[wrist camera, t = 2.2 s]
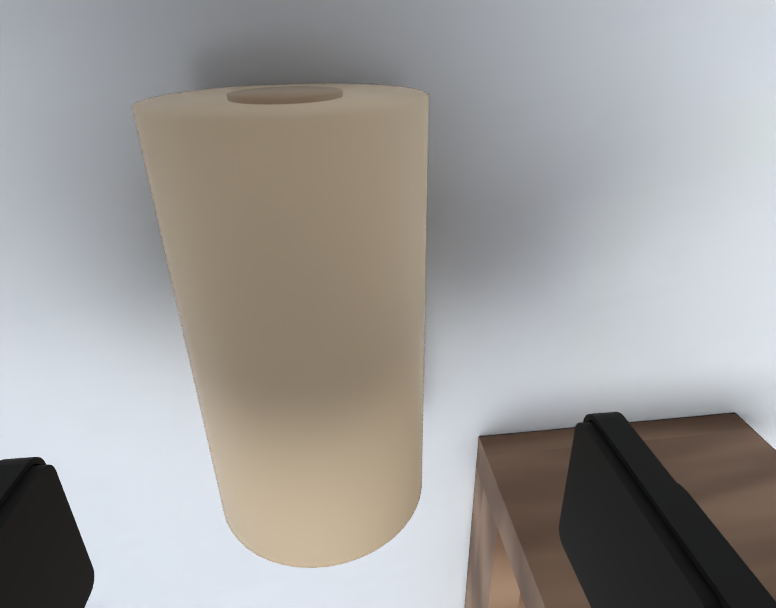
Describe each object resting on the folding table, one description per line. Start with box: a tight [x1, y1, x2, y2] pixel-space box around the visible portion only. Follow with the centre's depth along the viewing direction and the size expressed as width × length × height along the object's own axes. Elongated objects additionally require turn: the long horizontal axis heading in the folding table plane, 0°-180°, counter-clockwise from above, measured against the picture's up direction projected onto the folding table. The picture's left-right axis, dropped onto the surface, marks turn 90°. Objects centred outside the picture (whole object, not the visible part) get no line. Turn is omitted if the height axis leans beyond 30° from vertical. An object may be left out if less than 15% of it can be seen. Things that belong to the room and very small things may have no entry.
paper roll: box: [132, 83, 429, 568], centre depth 14 cm, size 11×6×6 cm, turn 1°
